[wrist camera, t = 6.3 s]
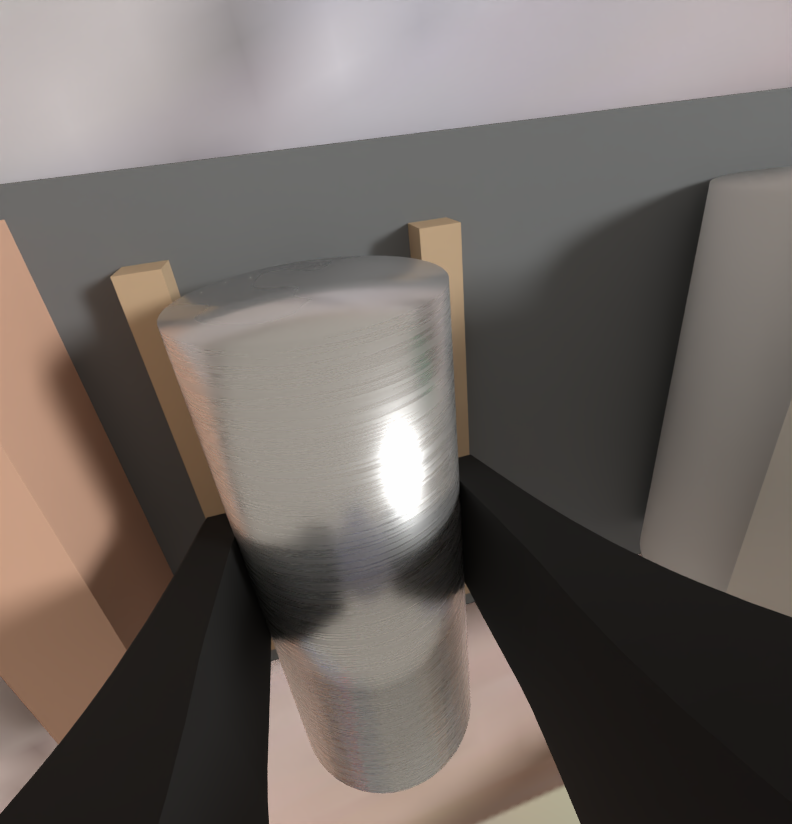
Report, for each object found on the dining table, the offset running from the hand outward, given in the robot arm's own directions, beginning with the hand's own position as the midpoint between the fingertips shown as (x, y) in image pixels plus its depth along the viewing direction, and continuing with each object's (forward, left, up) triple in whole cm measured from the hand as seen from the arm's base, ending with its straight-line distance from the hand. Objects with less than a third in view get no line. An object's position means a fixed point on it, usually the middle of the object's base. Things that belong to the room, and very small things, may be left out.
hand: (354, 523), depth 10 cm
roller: (0, 0, -2) cm, 2 cm away
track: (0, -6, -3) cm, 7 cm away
